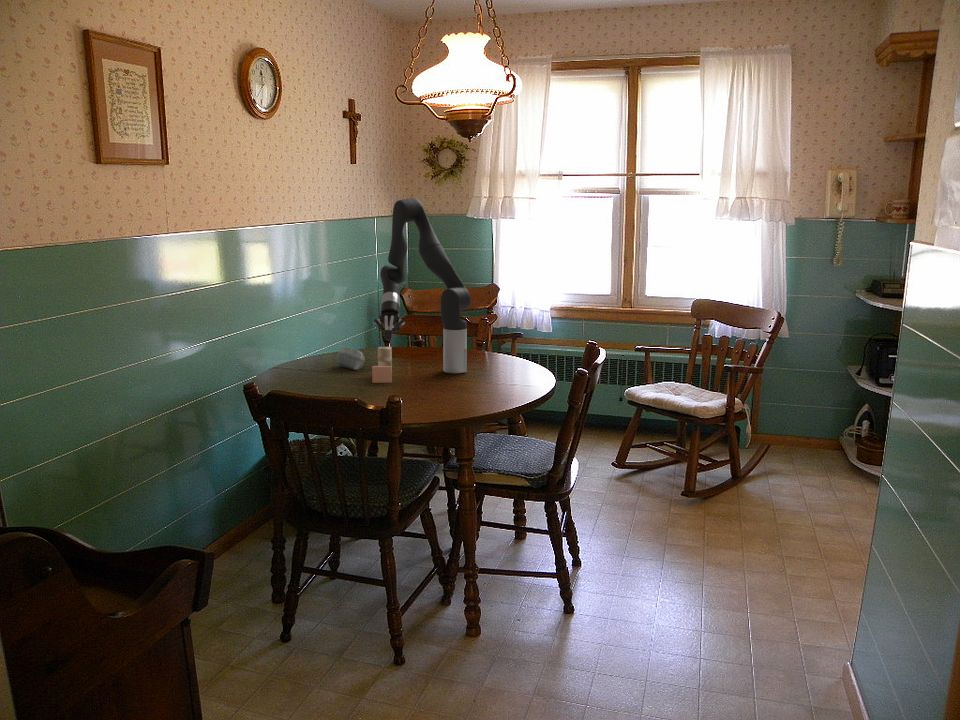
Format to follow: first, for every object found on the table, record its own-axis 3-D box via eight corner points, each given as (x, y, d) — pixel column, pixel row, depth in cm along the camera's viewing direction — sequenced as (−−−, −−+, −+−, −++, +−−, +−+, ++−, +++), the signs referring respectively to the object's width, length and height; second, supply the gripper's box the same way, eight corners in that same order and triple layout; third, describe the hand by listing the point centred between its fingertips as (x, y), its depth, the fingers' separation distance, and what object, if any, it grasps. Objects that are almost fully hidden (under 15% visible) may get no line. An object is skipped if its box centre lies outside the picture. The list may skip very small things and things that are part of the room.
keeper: (391, 373, 300) (391, 346, 298) (390, 375, 296) (390, 348, 294) (379, 373, 300) (379, 346, 298) (378, 375, 296) (377, 348, 294)
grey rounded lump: (327, 359, 311) (339, 338, 310) (345, 366, 318) (357, 345, 317) (342, 373, 301) (355, 351, 301) (360, 380, 308) (373, 359, 307)
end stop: (391, 381, 288) (391, 366, 286) (391, 382, 286) (391, 366, 285) (372, 381, 287) (372, 366, 286) (372, 382, 286) (372, 366, 285)
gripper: (373, 299, 316) (370, 334, 306) (406, 299, 316) (404, 334, 306) (375, 310, 322) (372, 344, 312) (407, 310, 322) (405, 345, 313)
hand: (388, 339), depth 309 cm, fingers closed
